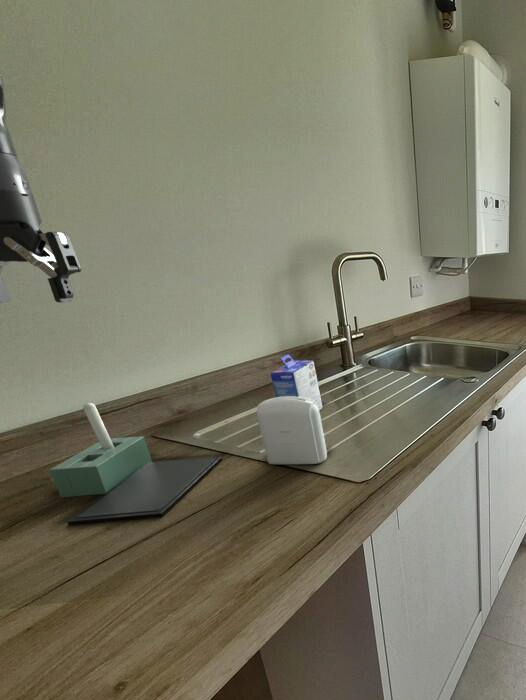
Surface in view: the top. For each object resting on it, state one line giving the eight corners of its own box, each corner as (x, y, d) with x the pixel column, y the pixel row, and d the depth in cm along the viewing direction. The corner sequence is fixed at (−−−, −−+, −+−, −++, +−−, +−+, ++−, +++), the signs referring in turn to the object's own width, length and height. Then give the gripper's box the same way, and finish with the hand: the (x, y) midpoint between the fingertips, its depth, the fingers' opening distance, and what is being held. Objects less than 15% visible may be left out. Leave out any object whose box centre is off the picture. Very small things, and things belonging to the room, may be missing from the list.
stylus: (111, 473, 71) (79, 405, 66) (117, 469, 72) (86, 401, 67) (120, 473, 71) (89, 404, 66) (126, 468, 73) (95, 401, 67)
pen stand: (60, 497, 64) (48, 469, 63) (113, 463, 74) (104, 438, 73) (106, 493, 65) (96, 466, 64) (152, 460, 75) (144, 436, 74)
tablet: (68, 525, 58) (66, 521, 57) (149, 465, 74) (148, 461, 73) (162, 517, 59) (161, 512, 59) (222, 460, 75) (221, 456, 75)
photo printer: (263, 466, 73) (249, 401, 69) (277, 454, 77) (264, 393, 73) (320, 466, 73) (309, 401, 69) (331, 454, 77) (321, 393, 73)
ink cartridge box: (300, 408, 99) (289, 350, 95) (323, 408, 99) (313, 350, 95) (279, 425, 90) (266, 361, 85) (305, 424, 90) (293, 361, 85)
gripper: (-100, 183, 54) (-48, 306, 59) (24, 186, 56) (64, 304, 61) (-37, 190, 61) (5, 299, 66) (71, 193, 63) (103, 298, 69)
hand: (33, 302), depth 64 cm, fingers open, 8 cm apart
